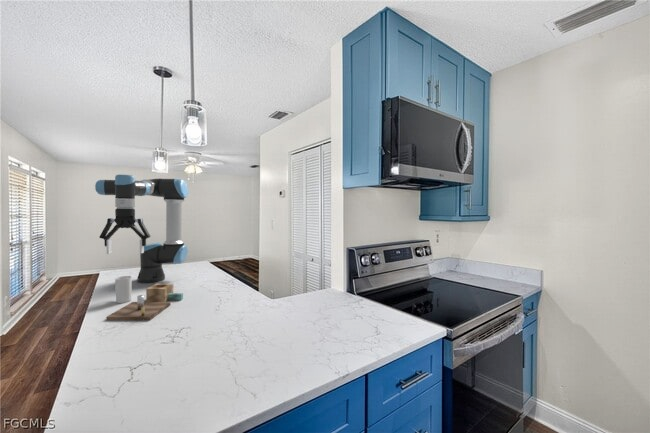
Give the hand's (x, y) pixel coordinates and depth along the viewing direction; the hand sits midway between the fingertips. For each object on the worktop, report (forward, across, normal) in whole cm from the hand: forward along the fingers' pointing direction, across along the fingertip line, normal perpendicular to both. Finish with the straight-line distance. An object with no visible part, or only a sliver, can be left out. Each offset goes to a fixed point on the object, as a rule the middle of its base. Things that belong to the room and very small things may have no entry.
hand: (125, 253), depth 134 cm
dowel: (+25, +13, -15) cm, 31 cm away
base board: (+26, +9, -7) cm, 28 cm away
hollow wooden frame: (+26, +15, +10) cm, 31 cm away
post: (+25, +9, -7) cm, 27 cm away
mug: (+26, -7, +11) cm, 29 cm away
